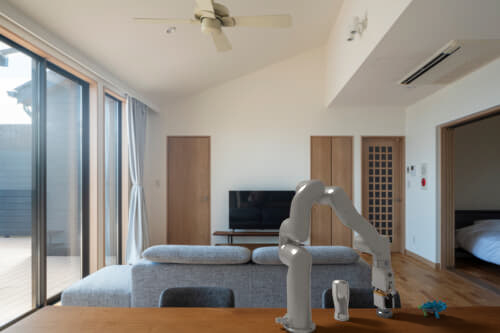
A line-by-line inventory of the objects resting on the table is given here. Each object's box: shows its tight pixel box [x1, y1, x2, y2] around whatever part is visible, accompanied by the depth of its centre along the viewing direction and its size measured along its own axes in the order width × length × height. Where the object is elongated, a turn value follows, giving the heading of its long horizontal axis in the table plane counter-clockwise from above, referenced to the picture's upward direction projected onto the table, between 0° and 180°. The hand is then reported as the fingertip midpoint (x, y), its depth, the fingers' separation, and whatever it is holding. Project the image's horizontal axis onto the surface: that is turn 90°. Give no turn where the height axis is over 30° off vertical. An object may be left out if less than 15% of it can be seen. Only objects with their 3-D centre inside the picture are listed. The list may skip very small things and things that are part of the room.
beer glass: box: [331, 279, 350, 322], centre depth 124 cm, size 7×7×15 cm
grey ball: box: [376, 306, 394, 319], centre depth 126 cm, size 6×6×5 cm
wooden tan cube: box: [373, 290, 395, 310], centre depth 127 cm, size 6×6×6 cm
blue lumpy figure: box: [418, 299, 448, 319], centre depth 124 cm, size 11×6×10 cm
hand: (384, 305), depth 127 cm, fingers closed on wooden tan cube, 5 cm apart
